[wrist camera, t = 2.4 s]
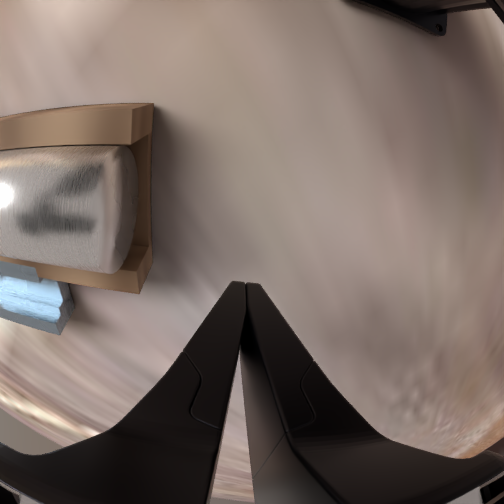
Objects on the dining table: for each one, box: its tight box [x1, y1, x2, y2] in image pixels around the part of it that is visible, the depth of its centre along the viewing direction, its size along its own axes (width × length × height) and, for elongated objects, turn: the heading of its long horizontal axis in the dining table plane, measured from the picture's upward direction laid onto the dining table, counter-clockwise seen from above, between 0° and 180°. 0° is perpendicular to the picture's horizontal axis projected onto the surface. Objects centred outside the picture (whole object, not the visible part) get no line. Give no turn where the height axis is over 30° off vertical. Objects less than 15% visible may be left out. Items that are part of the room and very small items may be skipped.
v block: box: [0, 261, 75, 335], centre depth 16 cm, size 8×6×3 cm
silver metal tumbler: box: [0, 145, 138, 274], centre depth 11 cm, size 13×6×6 cm, turn 82°
